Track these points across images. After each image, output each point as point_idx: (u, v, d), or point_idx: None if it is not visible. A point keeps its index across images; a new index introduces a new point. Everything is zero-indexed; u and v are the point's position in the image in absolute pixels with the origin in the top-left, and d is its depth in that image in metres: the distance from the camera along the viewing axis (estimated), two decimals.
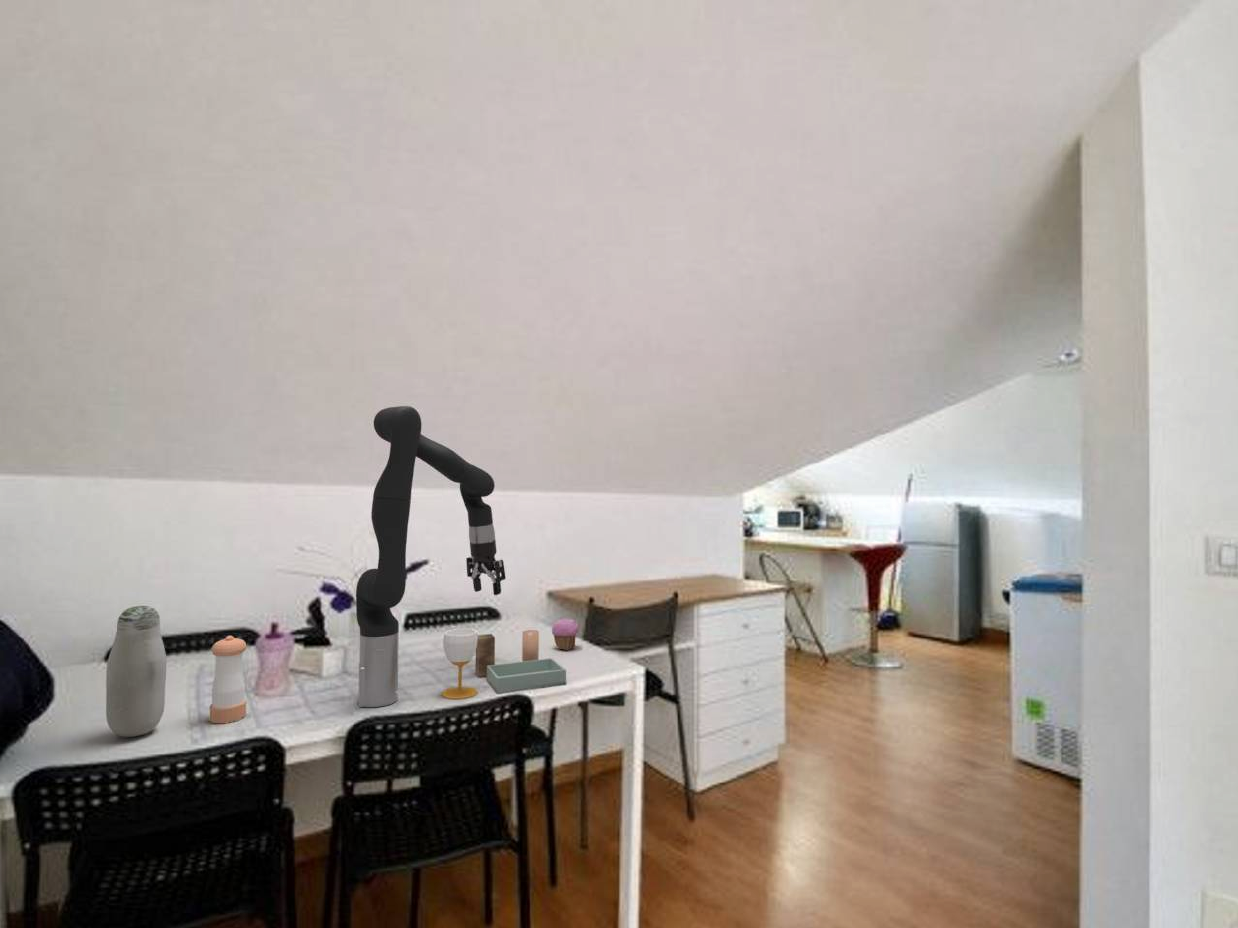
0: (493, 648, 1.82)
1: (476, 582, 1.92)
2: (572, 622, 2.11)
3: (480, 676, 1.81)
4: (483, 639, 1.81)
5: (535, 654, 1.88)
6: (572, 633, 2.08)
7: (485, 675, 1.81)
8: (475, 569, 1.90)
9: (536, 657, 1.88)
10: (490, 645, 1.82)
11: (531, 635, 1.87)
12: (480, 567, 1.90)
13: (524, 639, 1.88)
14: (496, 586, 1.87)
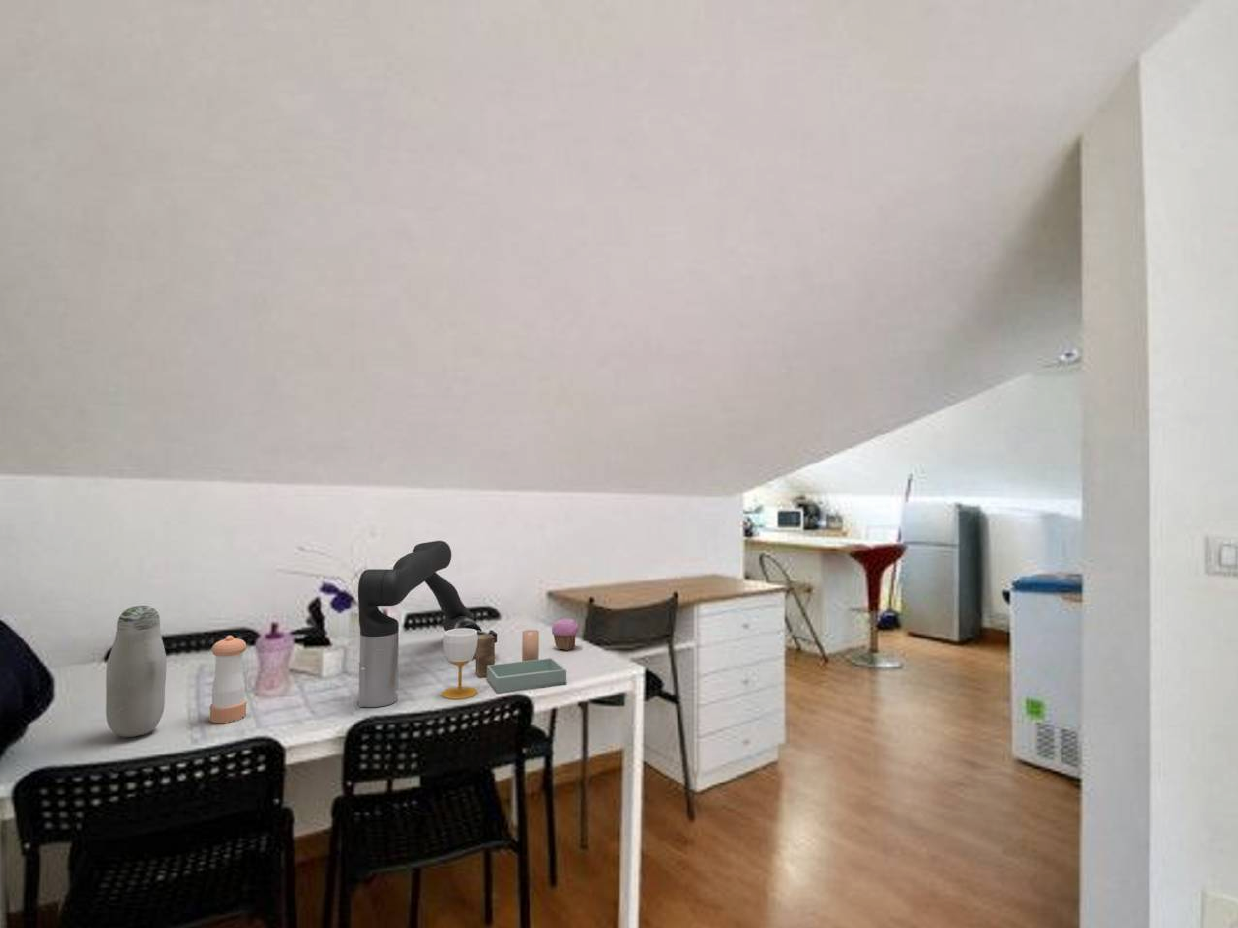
0: (493, 648, 1.82)
1: None
2: (572, 622, 2.11)
3: (480, 676, 1.81)
4: (483, 639, 1.81)
5: (535, 654, 1.88)
6: (572, 633, 2.08)
7: (485, 675, 1.81)
8: None
9: (536, 657, 1.88)
10: (490, 645, 1.82)
11: (531, 635, 1.87)
12: None
13: (524, 639, 1.88)
14: None
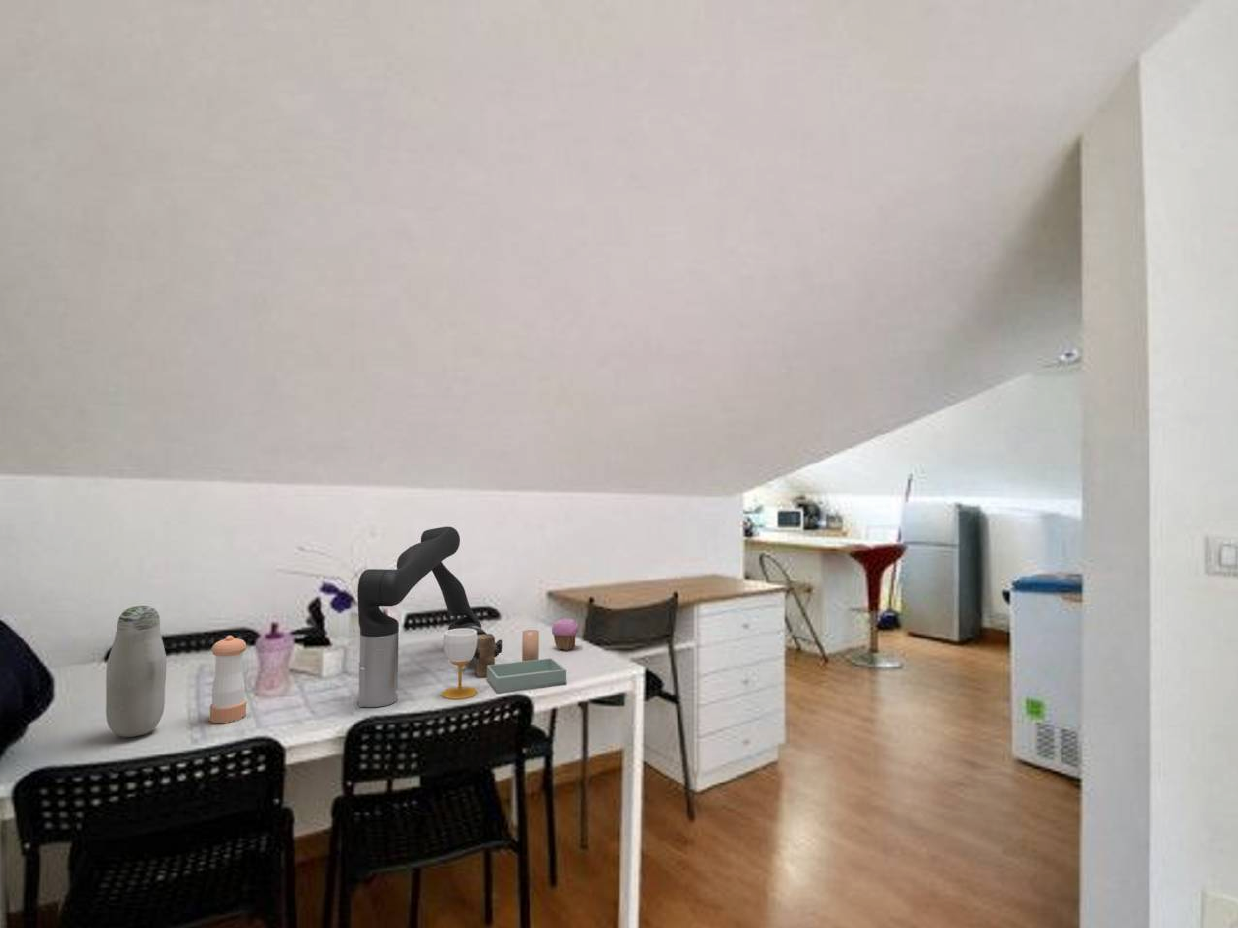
0: (493, 648, 1.82)
1: None
2: (572, 622, 2.11)
3: (480, 676, 1.81)
4: (483, 639, 1.81)
5: (535, 654, 1.88)
6: (572, 633, 2.08)
7: (485, 675, 1.81)
8: None
9: (536, 657, 1.88)
10: (490, 645, 1.82)
11: (531, 635, 1.87)
12: None
13: (524, 639, 1.88)
14: (496, 648, 1.85)
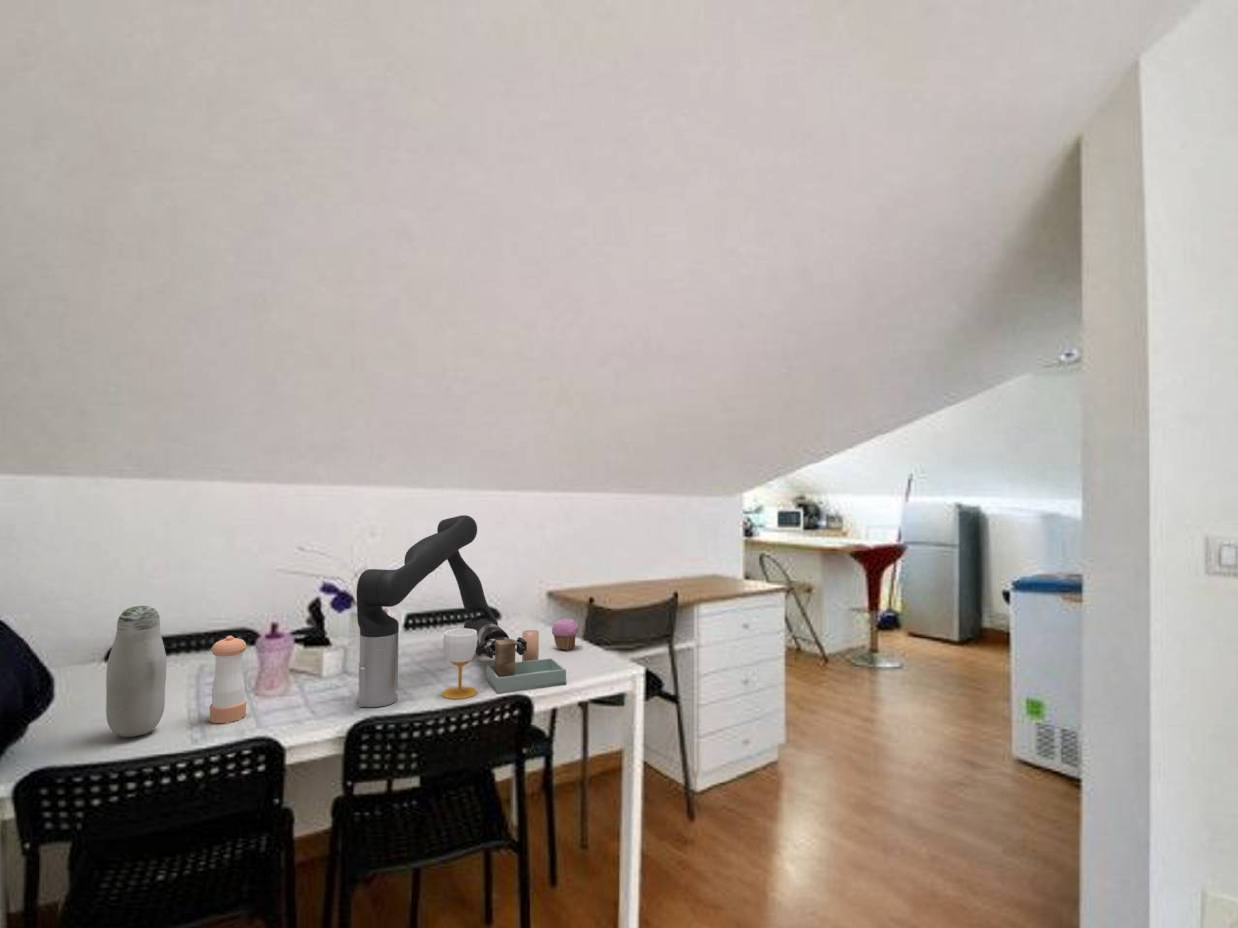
0: (513, 654, 1.74)
1: None
2: (572, 622, 2.11)
3: None
4: (503, 645, 1.72)
5: (535, 654, 1.88)
6: (572, 633, 2.08)
7: None
8: (492, 641, 1.79)
9: (536, 657, 1.88)
10: (511, 651, 1.73)
11: (531, 635, 1.87)
12: None
13: (524, 639, 1.88)
14: (521, 646, 1.78)
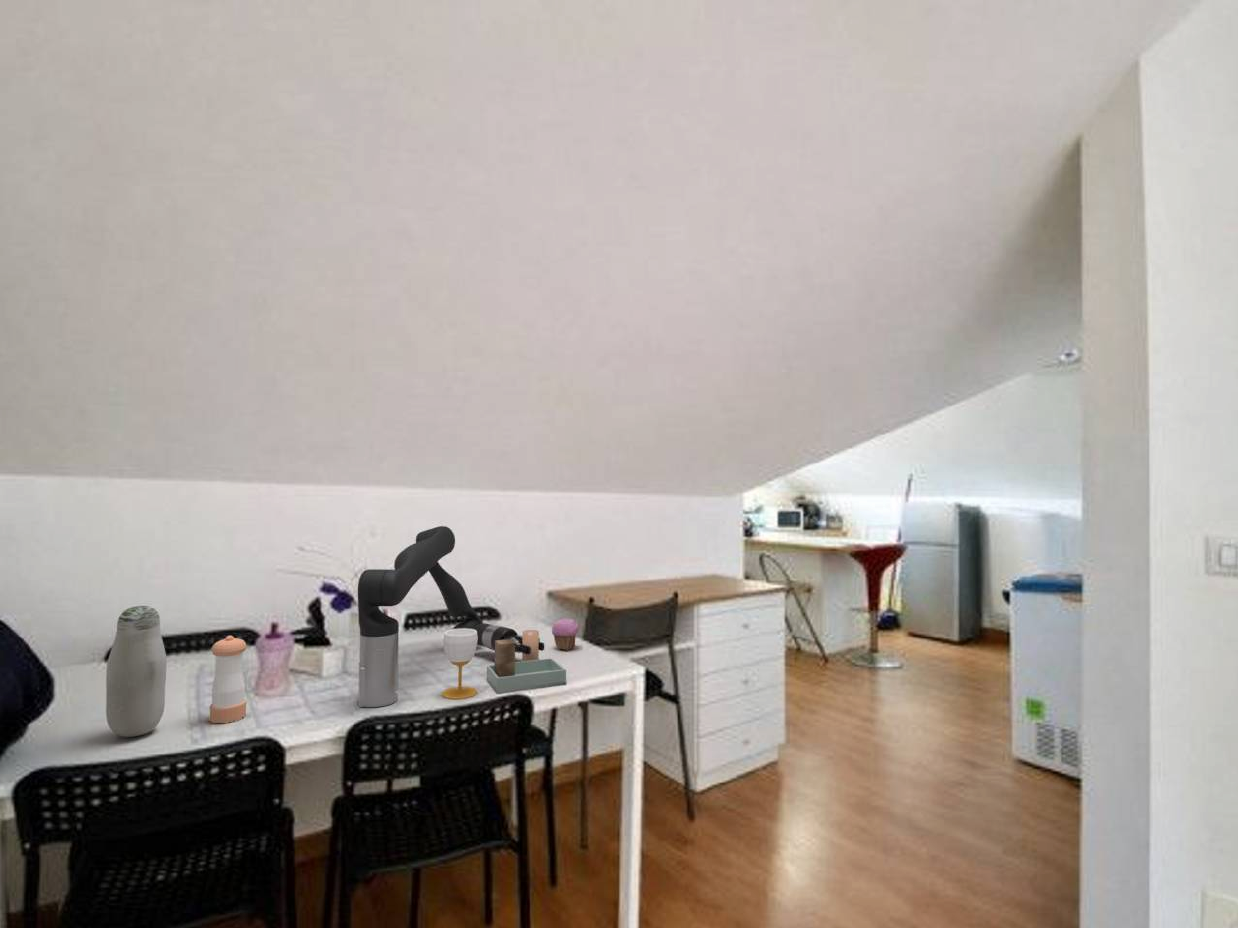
0: (513, 654, 1.74)
1: None
2: (572, 622, 2.11)
3: None
4: (503, 644, 1.73)
5: (535, 654, 1.88)
6: (572, 633, 2.08)
7: None
8: (514, 639, 1.91)
9: (536, 657, 1.88)
10: (510, 650, 1.73)
11: (531, 635, 1.87)
12: (515, 639, 1.93)
13: (524, 639, 1.88)
14: None
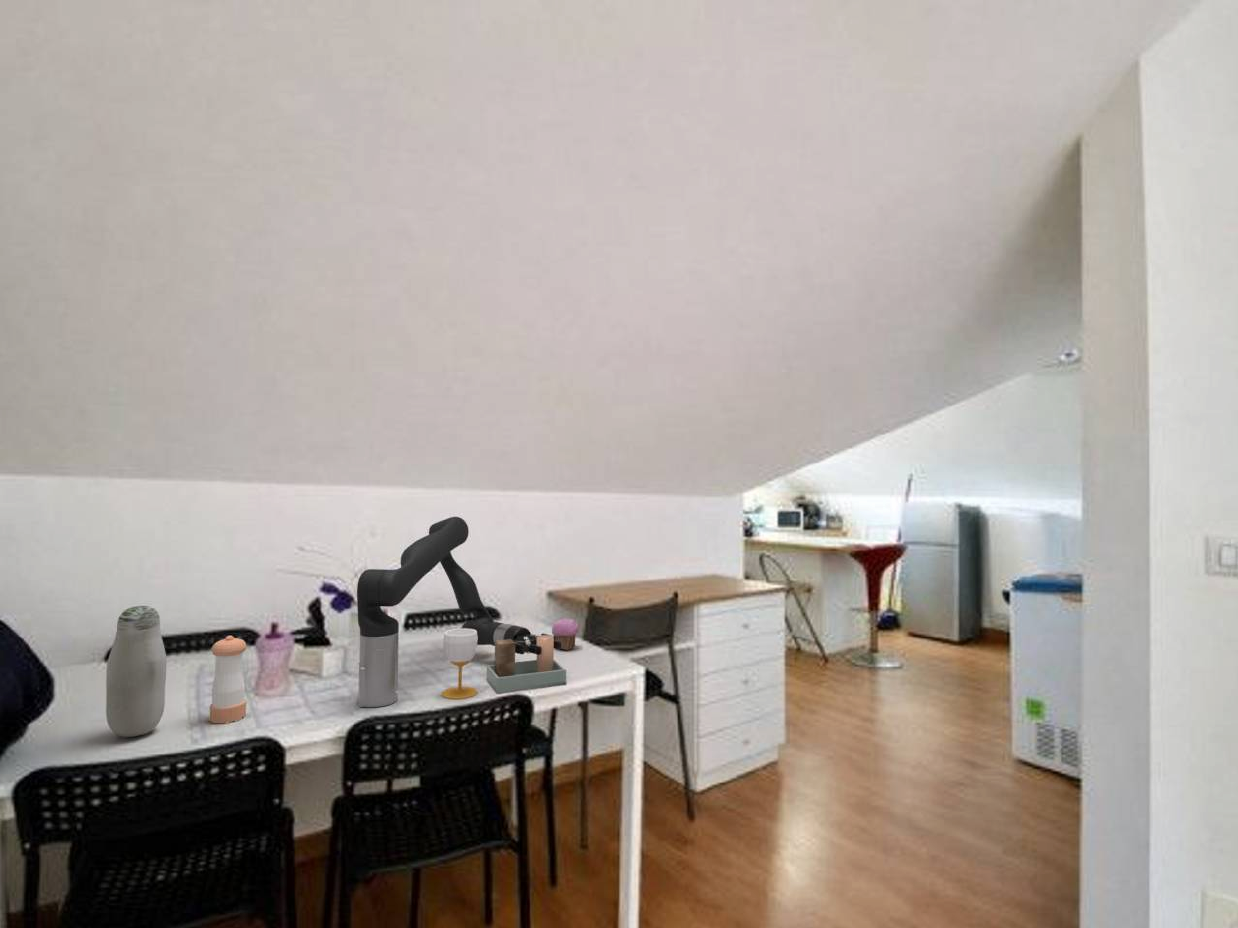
0: (513, 654, 1.74)
1: None
2: (572, 622, 2.11)
3: None
4: (503, 644, 1.73)
5: (550, 660, 1.78)
6: (572, 633, 2.08)
7: None
8: (526, 639, 1.82)
9: (551, 664, 1.79)
10: (510, 650, 1.73)
11: (546, 640, 1.78)
12: (529, 639, 1.83)
13: (538, 645, 1.78)
14: None
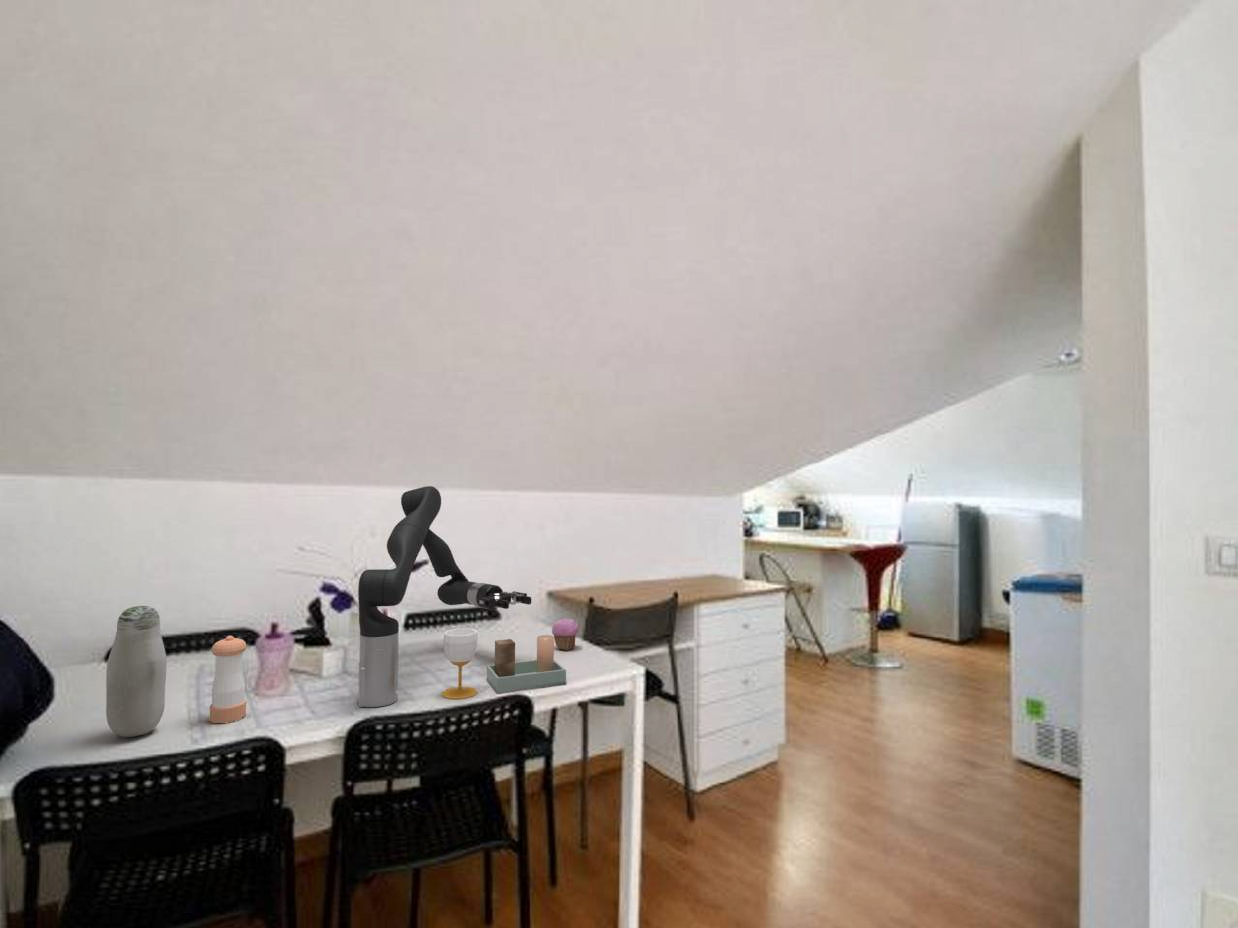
0: (513, 654, 1.74)
1: None
2: (572, 622, 2.11)
3: None
4: (503, 644, 1.73)
5: (550, 660, 1.78)
6: (572, 633, 2.08)
7: None
8: (497, 595, 1.90)
9: (551, 664, 1.78)
10: (510, 650, 1.73)
11: (546, 641, 1.77)
12: (500, 596, 1.92)
13: (539, 645, 1.78)
14: None
